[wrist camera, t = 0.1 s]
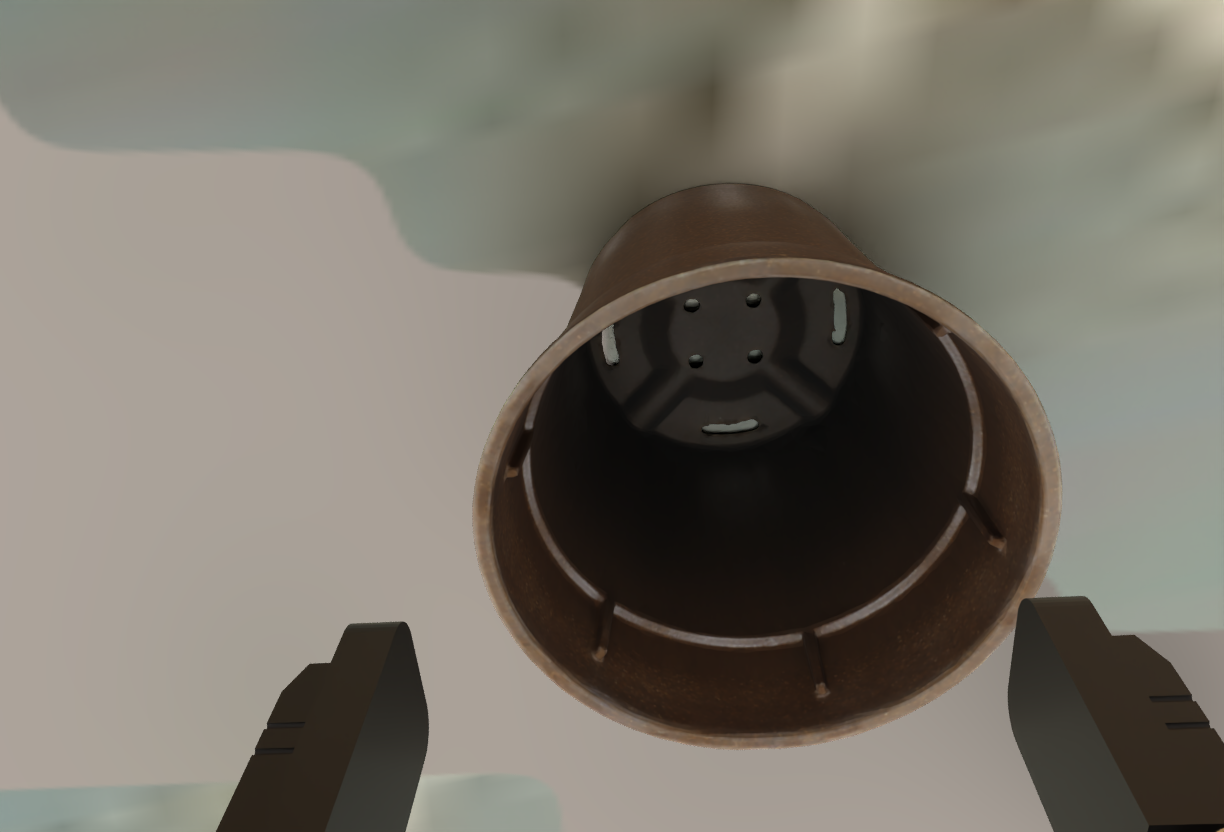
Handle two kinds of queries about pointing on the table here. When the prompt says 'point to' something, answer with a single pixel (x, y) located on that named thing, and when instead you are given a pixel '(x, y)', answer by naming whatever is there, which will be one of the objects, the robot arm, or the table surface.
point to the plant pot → (763, 485)
